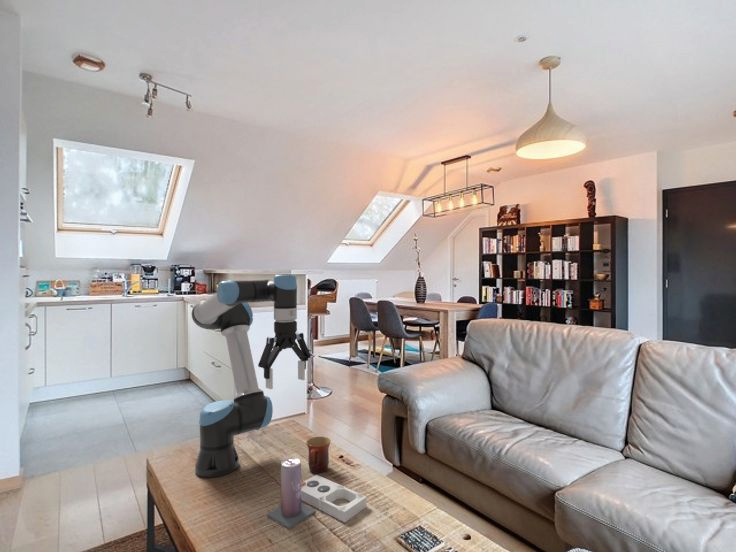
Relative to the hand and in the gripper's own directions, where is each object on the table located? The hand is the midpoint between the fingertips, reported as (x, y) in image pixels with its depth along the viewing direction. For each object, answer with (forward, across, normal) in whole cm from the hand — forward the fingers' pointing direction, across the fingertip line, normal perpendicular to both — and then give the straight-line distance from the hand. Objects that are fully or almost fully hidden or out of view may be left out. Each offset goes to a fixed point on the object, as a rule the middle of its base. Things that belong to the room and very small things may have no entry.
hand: (285, 383), depth 137 cm
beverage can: (+34, -10, -14) cm, 38 cm away
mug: (+35, +13, -1) cm, 37 cm away
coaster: (+34, -10, -14) cm, 38 cm away
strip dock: (+34, +2, -14) cm, 37 cm away
